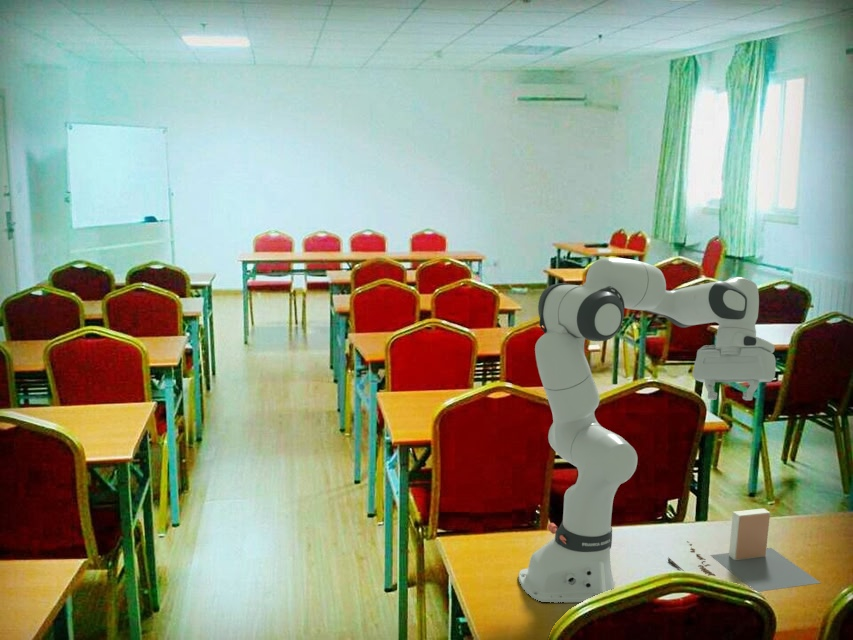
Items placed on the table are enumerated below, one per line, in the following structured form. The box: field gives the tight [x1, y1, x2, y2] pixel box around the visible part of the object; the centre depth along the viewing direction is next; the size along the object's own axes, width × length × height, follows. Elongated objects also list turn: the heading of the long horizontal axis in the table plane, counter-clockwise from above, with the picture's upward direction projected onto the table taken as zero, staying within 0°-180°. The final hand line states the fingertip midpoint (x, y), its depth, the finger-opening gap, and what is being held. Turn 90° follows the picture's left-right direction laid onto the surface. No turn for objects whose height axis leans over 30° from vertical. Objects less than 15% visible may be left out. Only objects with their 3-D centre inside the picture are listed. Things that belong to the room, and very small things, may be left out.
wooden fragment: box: [667, 541, 716, 577], centre depth 199 cm, size 26×11×1 cm, turn 179°
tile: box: [728, 507, 771, 560], centre depth 198 cm, size 9×3×12 cm, turn 104°
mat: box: [710, 547, 822, 593], centre depth 193 cm, size 18×18×1 cm
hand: (729, 399), depth 188 cm, fingers open, 8 cm apart
